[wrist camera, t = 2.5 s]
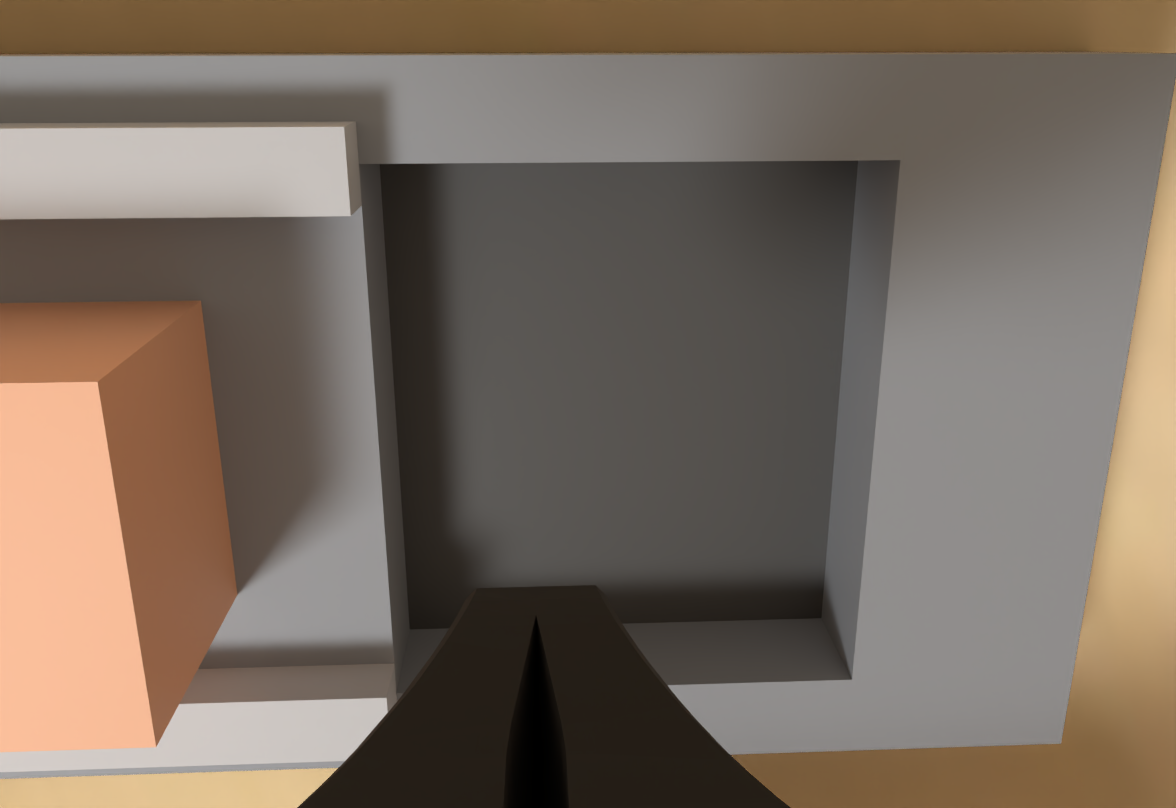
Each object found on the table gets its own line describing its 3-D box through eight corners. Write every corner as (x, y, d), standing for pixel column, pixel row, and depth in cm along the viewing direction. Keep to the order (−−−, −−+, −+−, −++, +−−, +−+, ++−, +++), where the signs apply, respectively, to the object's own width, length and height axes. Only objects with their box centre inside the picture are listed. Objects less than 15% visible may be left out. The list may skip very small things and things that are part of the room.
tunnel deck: (1003, 667, 22) (1088, 779, 18) (-526, 712, 20) (-731, 842, 17) (1093, 51, 18) (1222, 54, 14) (-793, 55, 16) (-1128, 59, 13)
